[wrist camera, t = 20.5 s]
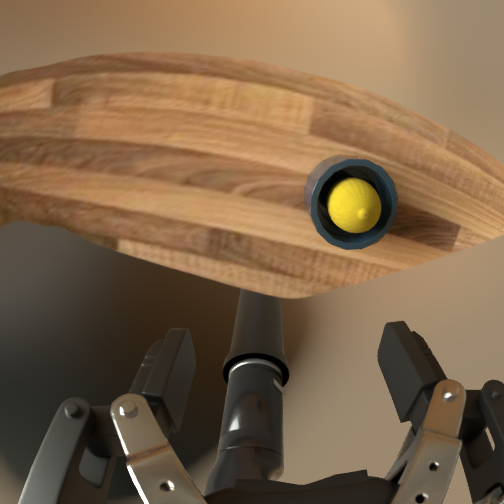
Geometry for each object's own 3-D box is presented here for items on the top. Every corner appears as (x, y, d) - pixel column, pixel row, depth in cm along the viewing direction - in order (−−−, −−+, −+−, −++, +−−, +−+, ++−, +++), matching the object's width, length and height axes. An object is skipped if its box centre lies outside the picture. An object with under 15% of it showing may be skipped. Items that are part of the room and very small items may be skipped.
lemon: (347, 227, 33) (368, 254, 25) (311, 202, 32) (324, 223, 24) (374, 190, 31) (403, 208, 23) (338, 163, 30) (360, 172, 22)
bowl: (360, 242, 34) (374, 260, 29) (291, 216, 33) (296, 231, 28) (390, 174, 30) (410, 182, 25) (321, 142, 29) (331, 143, 24)
